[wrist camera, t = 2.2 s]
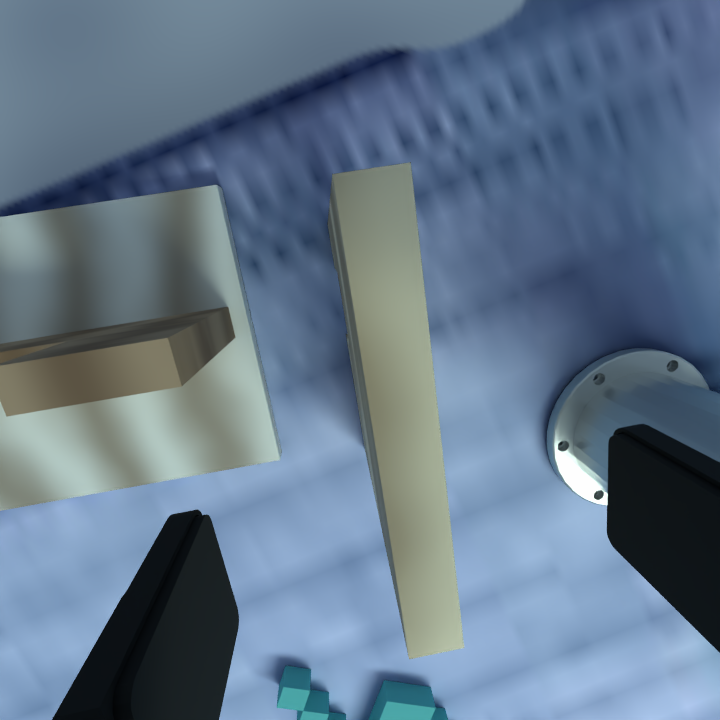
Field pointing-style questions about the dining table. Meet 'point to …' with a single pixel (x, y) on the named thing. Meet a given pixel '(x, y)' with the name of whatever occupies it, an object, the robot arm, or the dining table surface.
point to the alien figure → (390, 712)
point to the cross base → (122, 290)
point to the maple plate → (397, 394)
